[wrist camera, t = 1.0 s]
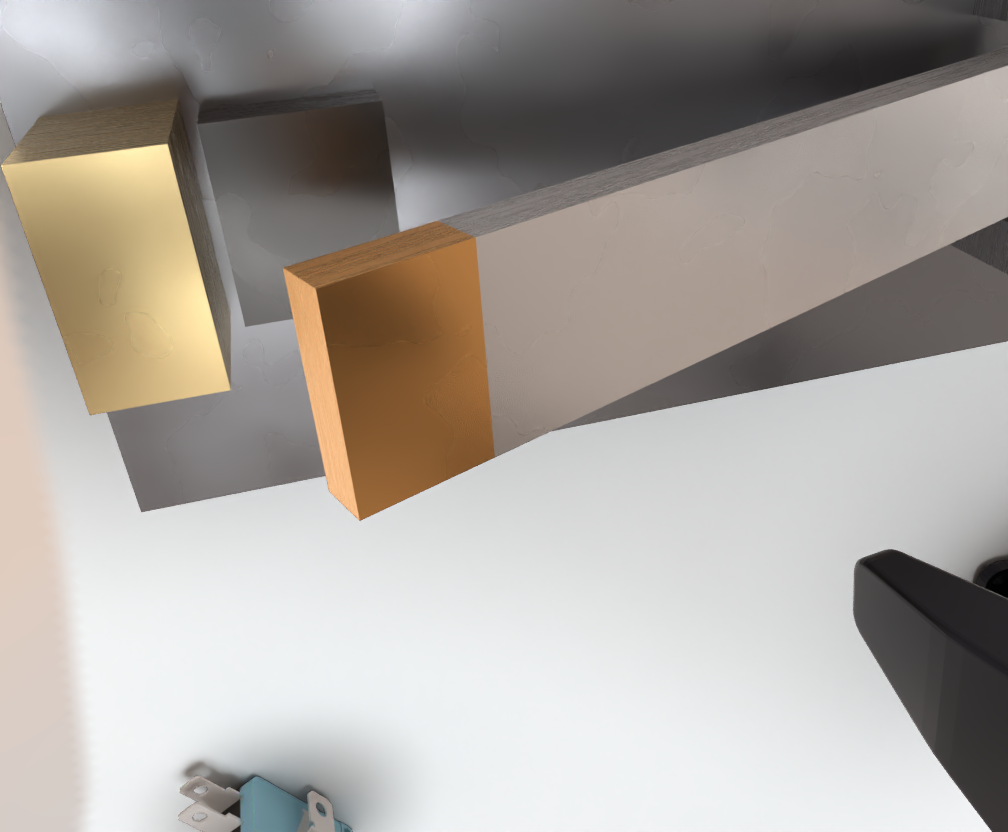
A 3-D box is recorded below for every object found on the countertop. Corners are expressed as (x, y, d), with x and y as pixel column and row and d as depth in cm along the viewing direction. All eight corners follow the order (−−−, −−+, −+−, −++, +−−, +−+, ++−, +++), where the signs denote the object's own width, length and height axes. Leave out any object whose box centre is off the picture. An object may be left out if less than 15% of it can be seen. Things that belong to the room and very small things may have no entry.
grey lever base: (1083, -240, 19) (1382, -280, 14) (969, 287, 26) (1149, 388, 20) (-41, -164, 15) (-173, -182, 10) (152, 438, 22) (128, 608, 17)
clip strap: (1054, 28, 18) (1118, 34, 17) (1018, 179, 20) (1077, 191, 19) (274, 263, 10) (324, 294, 9) (321, 484, 12) (368, 528, 11)
